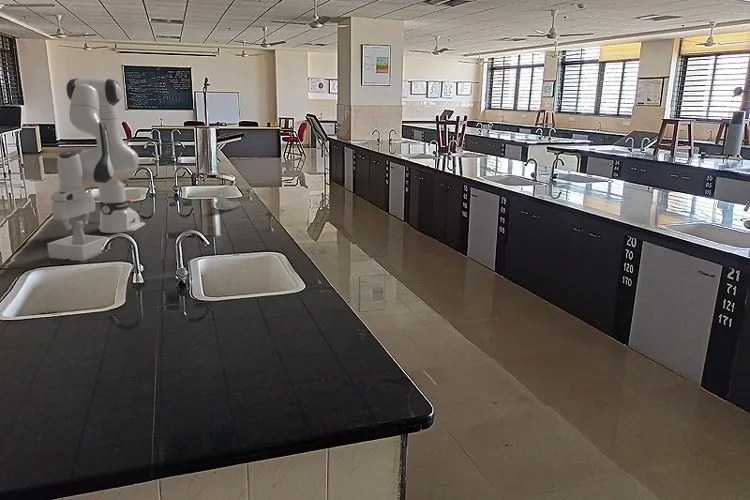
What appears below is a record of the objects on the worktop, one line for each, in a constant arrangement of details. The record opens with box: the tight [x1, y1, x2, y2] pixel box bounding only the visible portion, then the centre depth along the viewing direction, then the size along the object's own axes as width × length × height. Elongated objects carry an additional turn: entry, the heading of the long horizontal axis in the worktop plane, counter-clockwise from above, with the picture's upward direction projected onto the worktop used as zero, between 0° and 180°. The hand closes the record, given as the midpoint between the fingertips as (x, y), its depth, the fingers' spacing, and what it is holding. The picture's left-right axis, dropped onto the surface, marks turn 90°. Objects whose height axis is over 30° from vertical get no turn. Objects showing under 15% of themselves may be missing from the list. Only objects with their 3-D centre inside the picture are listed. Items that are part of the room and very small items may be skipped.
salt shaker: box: [70, 219, 87, 246], centre depth 236 cm, size 6×6×13 cm
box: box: [46, 234, 111, 262], centre depth 237 cm, size 16×16×6 cm
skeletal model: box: [212, 191, 242, 211], centre depth 329 cm, size 16×9×25 cm
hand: (77, 226), depth 235 cm, fingers open, 8 cm apart
